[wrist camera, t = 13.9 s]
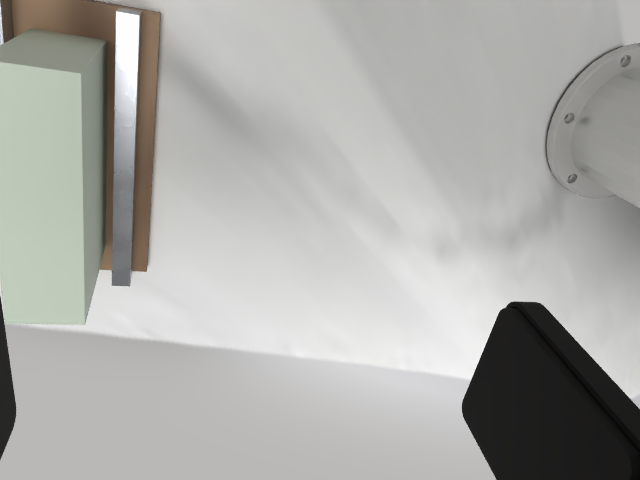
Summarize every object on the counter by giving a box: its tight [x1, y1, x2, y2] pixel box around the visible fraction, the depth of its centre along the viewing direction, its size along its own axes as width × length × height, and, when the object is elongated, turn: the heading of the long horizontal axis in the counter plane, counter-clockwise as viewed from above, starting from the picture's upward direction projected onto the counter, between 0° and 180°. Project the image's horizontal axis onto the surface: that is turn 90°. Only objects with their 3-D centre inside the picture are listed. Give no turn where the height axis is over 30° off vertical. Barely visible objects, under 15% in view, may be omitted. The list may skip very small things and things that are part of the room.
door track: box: [0, 0, 161, 286], centre depth 32 cm, size 10×18×3 cm, turn 169°
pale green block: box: [0, 28, 107, 325], centre depth 29 cm, size 4×14×9 cm, turn 168°
